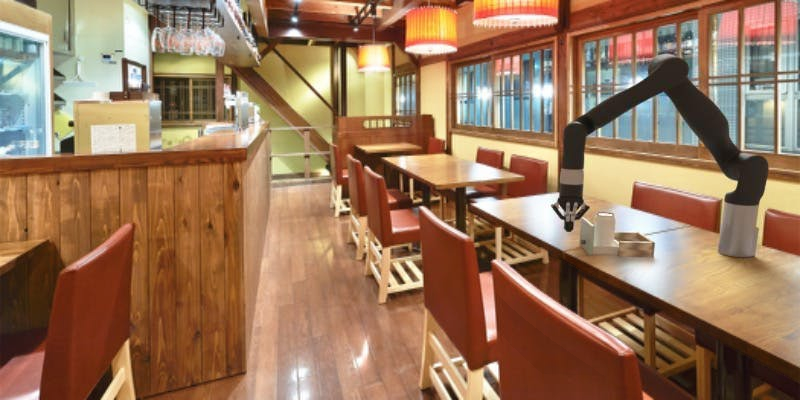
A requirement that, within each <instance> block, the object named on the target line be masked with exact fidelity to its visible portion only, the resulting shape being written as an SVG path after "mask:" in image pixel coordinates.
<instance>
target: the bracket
mask: <svg viewBox="0 0 800 400" xmlns="http://www.w3.org/2000/svg"><path fill="white" fill-rule="evenodd" d="M579 227H580V230H579V244H578V245H579V246H580V247H581V248H582V249H583V250H584V251H585V252H586V253H587V254H588V255H589V256H593V255H616V256H618V248H619V243H618V242H617V241H616V240H615V239H614V246H593V245H594V230H595V226H594V224H593V223H592V222H591V221H589V220H588V219H587V218H586V217H584V216H582V217H581V218H580V226H579Z"/></svg>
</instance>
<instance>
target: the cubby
mask: <svg viewBox="0 0 800 400" xmlns="http://www.w3.org/2000/svg"><path fill="white" fill-rule="evenodd" d="M614 239H615V240H616V241H617V242H618V243H619V248H618V255H617V257H619V258H654V256H655V249H656V248H655V247H656V246H655V245H656V242H655V241H653V240H652V239H650V238H648V237H647V236H646V235H644V234H643V233H641V232H640V231H615V234H614Z"/></svg>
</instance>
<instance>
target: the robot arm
mask: <svg viewBox="0 0 800 400" xmlns="http://www.w3.org/2000/svg"><path fill="white" fill-rule="evenodd" d="M689 73H690V66H689V63H688V62H687V61H686V60H685V59H684V58H682V57H680V56H677V55H674V54H669V53H664V54H663V53H662V54H659V55H657V56H654V58H652V59H651V61H650V62H649V63H648V67H647V76H646V77H645V78H644V79H642V80H641V81H639V82H637V83H635V84H634V85H632V86H630V87H628V88H626V89H623V90H622V91H619V92H617V93H615V94H613V95H610V96H608V97H607V98H606V99H603V100H602V101H600V102H599V103H598V104H596V105H594V106H593V107H592V108H591V109H590V110H588V111H587V112H585V113H584V114H582V115H581V116H579V117H577V118H575V119H574V120H572V121H570V122H569V123H568V124H566V125H565V127H564V129H563V137H562V139H563V146H562V148H563V149H562V150H563V152H562V156H561V169H560V175H559V177H560V178H559V191H558V192H559V193H558V198H557V200H556V202H554V203H552V204H550V207H551V209H552V210H553V212H554V213H555V214H556V215H557V217H558V218H559V219H560V220H562V221H563V229H564V231H565V232H567V233H572V231H574V224H575V221H579V220H580V221H581V217H584V215H586V213H587V212H588V211H589V209H591V207H590V206H589V205H588V204H586V203H585V200H584V198H583V197H584V182H585V171H584V169H585V148H586V141H587V137H588V136H589V135H591V134H593V133H594V132H595V131H597V130H598V129H601V128H602V129H603V128H604V127H606V126H607V125H609V124H610V123H611V122H614V121H615V120H617V118H619V117H621V116H622V115H624V114H625V113H627V112H628V111H630V110H632V109H634V108H635V107H637V106H639V105H641V104H643V103H645V102H646V101H648V100H650V99H652V98H655V97H656V96H658V95H660V94H662V93H664V94H665V95H666V96H667V98H669V100H670V101H671V102H672V103H673V105H674V108H675V109H676V111H677V112H678V113H679V115H680V116H681V118H682V119H683V121H684V122H685V123H686V125H687V126H688V127H689V128H690V129H691V131H692V132H693V133H694V135H695V136H696V137H697V138H698V139H699V141H701V143H702V144H703V145H704V146H705V148H706V149H707V151H709V153H710V155H711V156H712V157H713V159H714V160H715V162H716V164H717V165H718V167H719V168H720V170H721V172H722V173H723V176H725V177H727V178H728V179H730V180H732V181H734V182H737V184H736V187H735V189H734V190H732V191H728V192H726V193H725V194H724V199H723V207H722V217H721V223H720V230H719V239H718V247H717V252H718V253H720V254H722V255H725V256H728V257H734V258H750V257H755V256H756V253H757V245H758V239H759V232H760V228H759V227H758V226H757V224H758V218H759V217H758V215H759V207H760V202H761V200H762V197H764V195H765V190H766V186H767V182H768V177H769V176H768V175H769V170H770V169H769V167H770V166H769V162H768V159H766V157H764V156H763V155H761V154H756V153H746V152H743V151H742V150H741V149H739V147H737V145H736V144H735V143H734V142H733V140H732V138H731V137H730V125H729V124H730V123H729V121H728V119H727V116H726V115H725V114H724V112H722V111H721V109H720V108H719V107H718V105H717V104H716V103H715V102H714V101H713V100H712V99H710V97H709V96H708V95H706V94H705V93H704V92H703V91H702V90H701V89H699V88H698V87H697V86H695V84H694V83H693V82H692V81H691V80H690V79H689V77H688V75H689ZM560 208H561V209H562V211H563V214H562V212H561V211H560ZM578 210H579V211H578Z"/></svg>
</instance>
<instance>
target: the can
mask: <svg viewBox="0 0 800 400" xmlns="http://www.w3.org/2000/svg"><path fill="white" fill-rule="evenodd" d="M616 220H617V219H616V216H615V213H613V212H610V211H609V212H608V211H598V212H596V215H595V216H594V224H593V225H594V226H595V230H594V245H593V246H614V234H615V232H616Z"/></svg>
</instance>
